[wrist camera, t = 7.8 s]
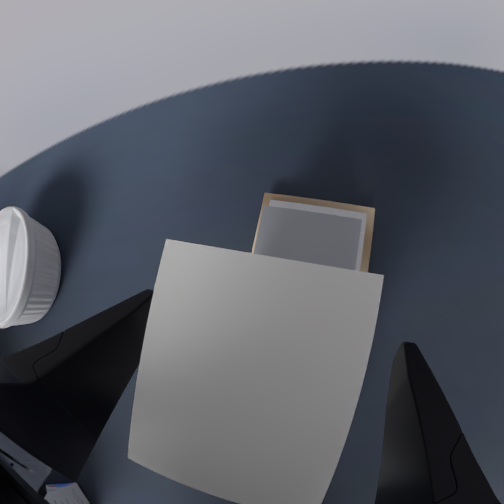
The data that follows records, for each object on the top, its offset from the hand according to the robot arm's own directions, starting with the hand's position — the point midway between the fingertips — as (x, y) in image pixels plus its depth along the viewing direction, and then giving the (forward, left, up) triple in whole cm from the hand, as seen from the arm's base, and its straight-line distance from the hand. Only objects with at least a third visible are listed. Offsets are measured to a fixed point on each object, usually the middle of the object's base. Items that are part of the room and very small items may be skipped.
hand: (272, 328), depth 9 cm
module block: (-1, +1, -8) cm, 8 cm away
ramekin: (+11, +23, -10) cm, 27 cm away
